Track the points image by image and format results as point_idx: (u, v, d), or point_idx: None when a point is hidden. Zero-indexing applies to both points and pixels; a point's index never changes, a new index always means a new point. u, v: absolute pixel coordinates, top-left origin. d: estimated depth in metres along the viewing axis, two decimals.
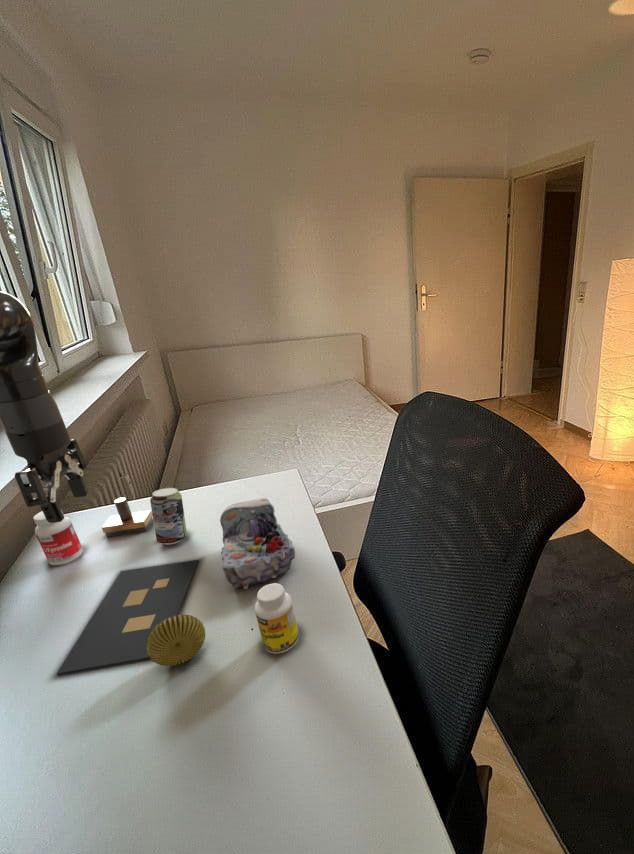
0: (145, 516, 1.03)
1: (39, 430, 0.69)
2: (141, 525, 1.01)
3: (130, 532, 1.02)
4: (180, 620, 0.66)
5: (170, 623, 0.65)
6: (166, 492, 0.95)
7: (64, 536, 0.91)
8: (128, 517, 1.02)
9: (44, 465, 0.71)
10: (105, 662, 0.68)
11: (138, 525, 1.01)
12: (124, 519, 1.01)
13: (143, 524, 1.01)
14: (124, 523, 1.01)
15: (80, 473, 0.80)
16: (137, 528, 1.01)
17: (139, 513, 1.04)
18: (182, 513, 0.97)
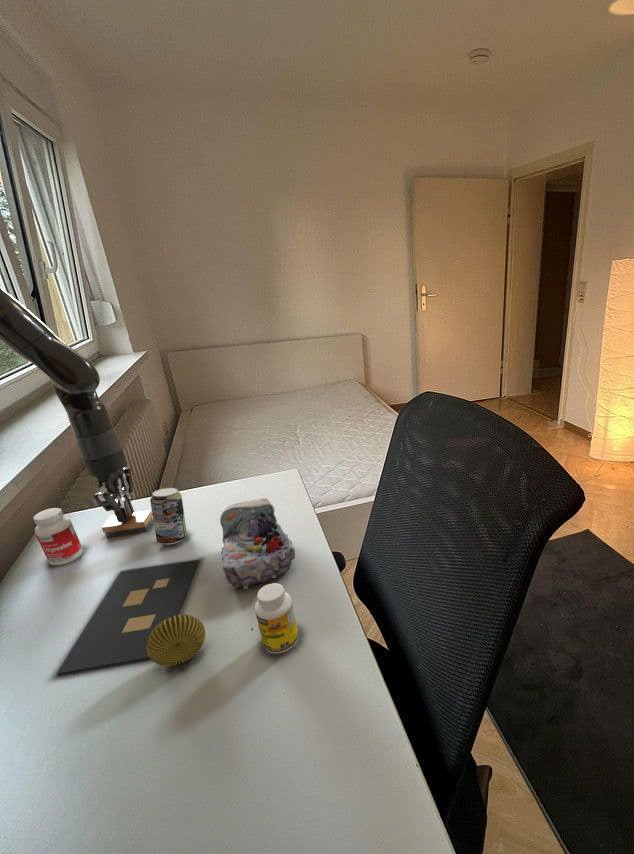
0: (145, 516, 1.03)
1: (107, 456, 0.93)
2: (141, 525, 1.01)
3: (130, 532, 1.02)
4: (180, 620, 0.66)
5: (170, 623, 0.65)
6: (166, 492, 0.95)
7: (64, 536, 0.91)
8: None
9: (110, 482, 0.95)
10: (105, 662, 0.68)
11: (138, 525, 1.01)
12: None
13: (143, 524, 1.01)
14: (124, 523, 1.01)
15: (128, 496, 1.02)
16: (137, 528, 1.01)
17: (139, 513, 1.04)
18: (182, 513, 0.97)
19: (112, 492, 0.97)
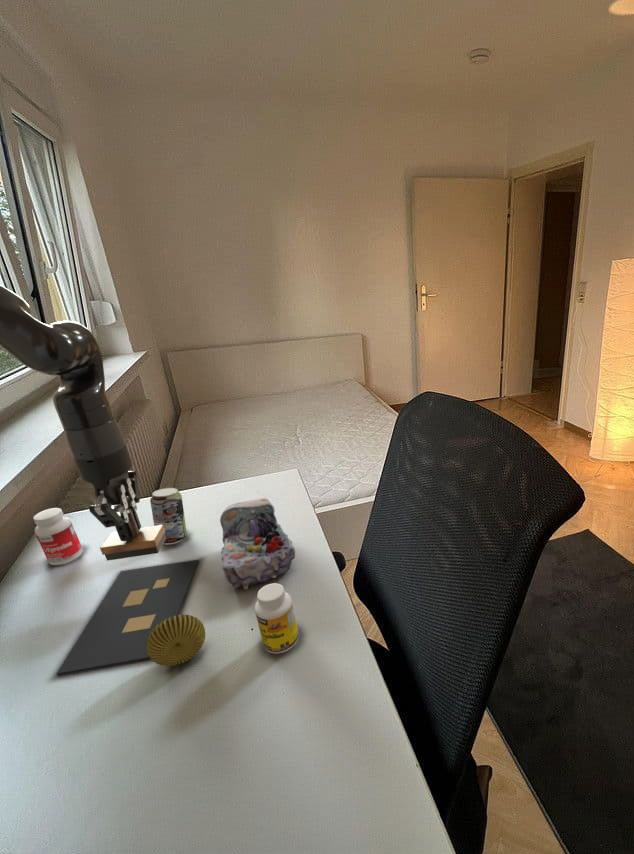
0: (156, 532, 0.80)
1: (107, 456, 0.70)
2: (151, 544, 0.78)
3: (137, 553, 0.79)
4: (180, 620, 0.66)
5: (170, 623, 0.65)
6: (166, 492, 0.95)
7: (64, 536, 0.91)
8: None
9: (110, 490, 0.72)
10: (105, 662, 0.68)
11: (147, 544, 0.78)
12: None
13: (154, 543, 0.78)
14: (129, 542, 0.78)
15: (134, 508, 0.79)
16: (146, 548, 0.79)
17: (148, 528, 0.82)
18: (182, 513, 0.97)
19: (113, 503, 0.74)
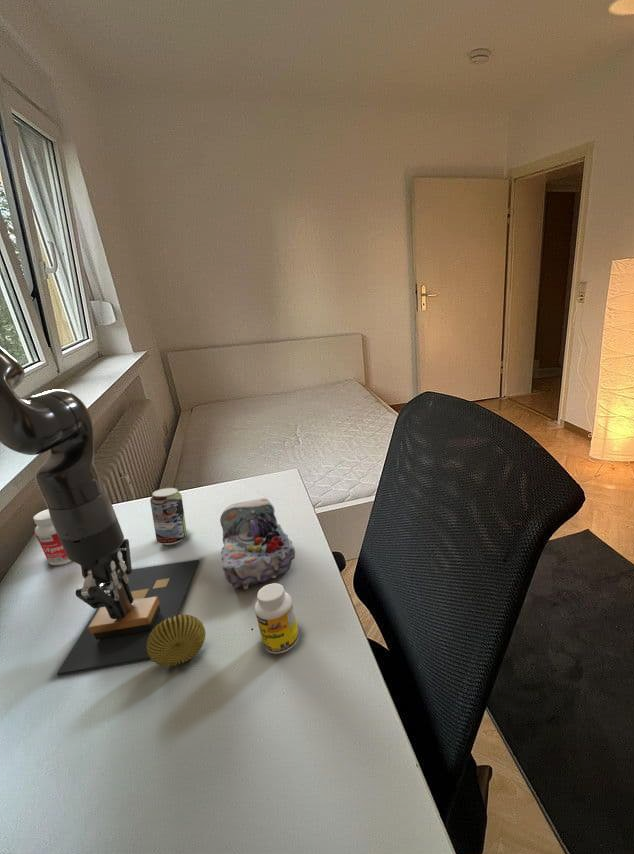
0: (149, 607, 0.74)
1: (95, 535, 0.64)
2: (144, 622, 0.72)
3: (129, 631, 0.73)
4: (180, 620, 0.66)
5: (170, 623, 0.65)
6: (166, 492, 0.95)
7: None
8: (126, 610, 0.73)
9: (99, 569, 0.66)
10: (105, 662, 0.68)
11: (140, 622, 0.72)
12: None
13: (147, 620, 0.72)
14: (120, 620, 0.72)
15: (126, 581, 0.73)
16: (138, 626, 0.73)
17: (141, 601, 0.76)
18: (182, 513, 0.97)
19: (102, 581, 0.68)
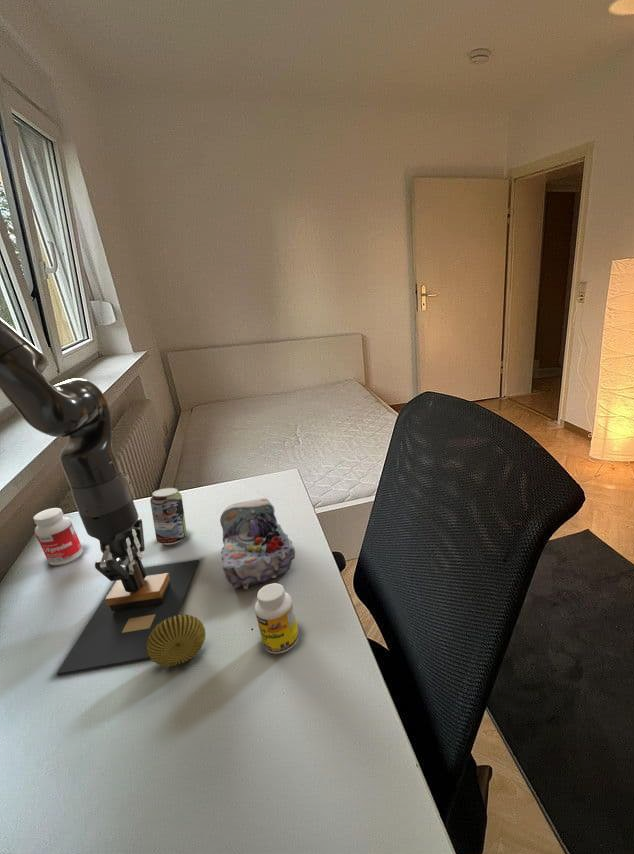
0: (161, 582, 0.80)
1: (113, 512, 0.70)
2: (156, 595, 0.78)
3: (142, 604, 0.79)
4: (180, 620, 0.66)
5: (170, 623, 0.65)
6: (166, 492, 0.95)
7: (64, 536, 0.91)
8: (139, 584, 0.79)
9: (115, 544, 0.72)
10: (105, 662, 0.68)
11: (152, 595, 0.78)
12: None
13: (159, 594, 0.78)
14: (134, 593, 0.78)
15: (139, 558, 0.79)
16: (151, 599, 0.78)
17: (153, 577, 0.81)
18: (182, 513, 0.97)
19: (119, 556, 0.74)
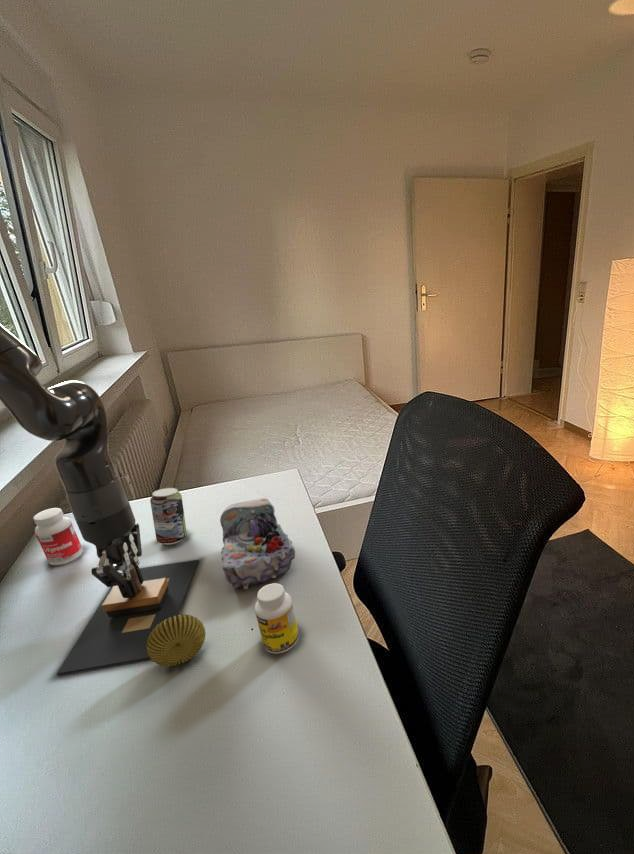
0: (159, 587, 0.79)
1: (109, 517, 0.69)
2: (154, 601, 0.77)
3: (139, 610, 0.77)
4: (180, 620, 0.66)
5: (170, 623, 0.65)
6: (166, 492, 0.95)
7: (64, 536, 0.91)
8: (137, 590, 0.77)
9: (112, 550, 0.71)
10: (105, 662, 0.68)
11: (150, 601, 0.77)
12: None
13: (157, 600, 0.77)
14: (132, 599, 0.76)
15: (137, 563, 0.78)
16: (149, 605, 0.77)
17: (151, 582, 0.80)
18: (182, 513, 0.97)
19: (115, 562, 0.72)
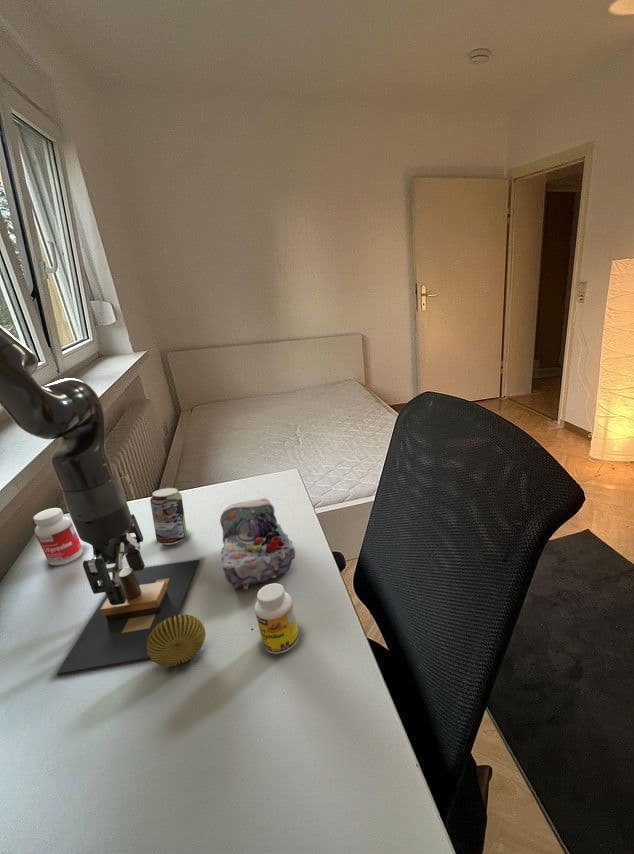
0: (158, 591, 0.78)
1: (106, 516, 0.68)
2: (153, 605, 0.76)
3: (138, 614, 0.77)
4: (180, 620, 0.66)
5: (170, 623, 0.65)
6: (166, 492, 0.95)
7: (64, 536, 0.91)
8: (136, 594, 0.77)
9: (109, 549, 0.70)
10: (105, 662, 0.68)
11: (149, 605, 0.76)
12: (130, 597, 0.76)
13: (155, 603, 0.76)
14: (131, 603, 0.76)
15: (138, 548, 0.79)
16: (148, 609, 0.77)
17: (150, 586, 0.79)
18: (182, 513, 0.97)
19: (108, 560, 0.71)
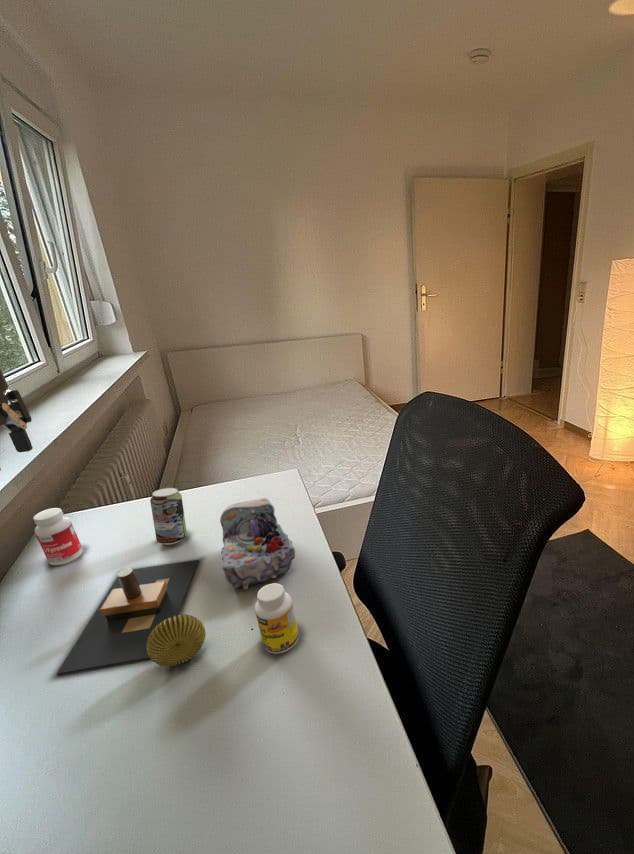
0: (158, 591, 0.78)
1: None
2: (153, 605, 0.76)
3: (138, 614, 0.77)
4: (180, 620, 0.66)
5: (170, 623, 0.65)
6: (166, 492, 0.95)
7: (64, 536, 0.91)
8: (136, 594, 0.77)
9: None
10: (105, 662, 0.68)
11: (149, 605, 0.76)
12: (130, 597, 0.76)
13: (155, 603, 0.76)
14: (131, 603, 0.76)
15: (22, 426, 0.75)
16: (148, 609, 0.77)
17: (150, 586, 0.79)
18: (182, 513, 0.97)
19: None
